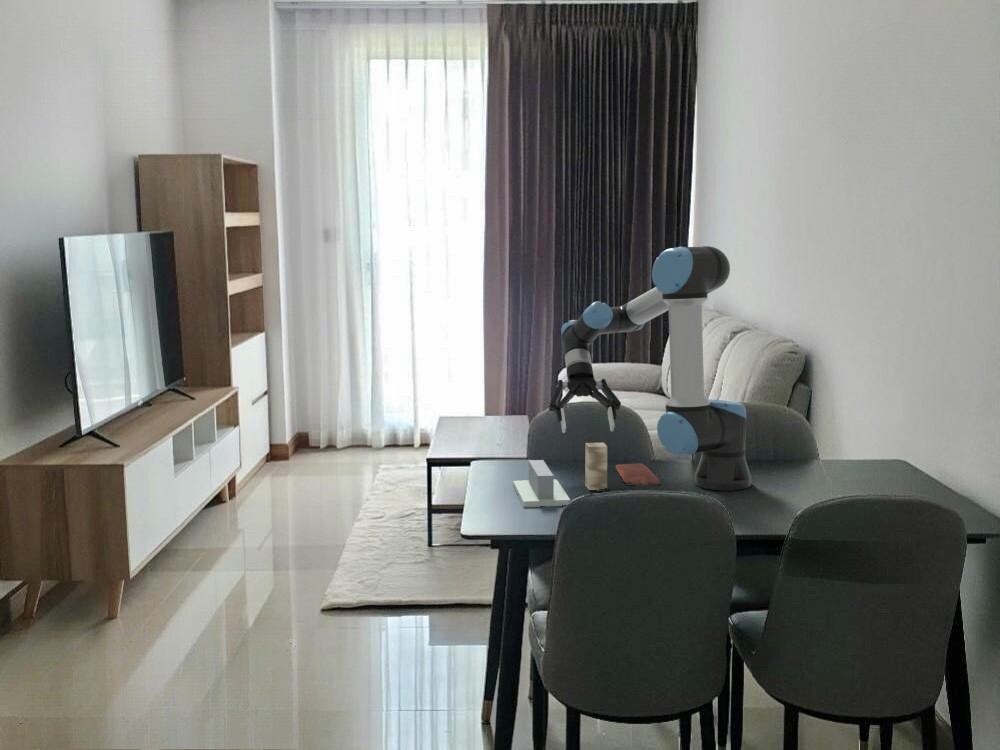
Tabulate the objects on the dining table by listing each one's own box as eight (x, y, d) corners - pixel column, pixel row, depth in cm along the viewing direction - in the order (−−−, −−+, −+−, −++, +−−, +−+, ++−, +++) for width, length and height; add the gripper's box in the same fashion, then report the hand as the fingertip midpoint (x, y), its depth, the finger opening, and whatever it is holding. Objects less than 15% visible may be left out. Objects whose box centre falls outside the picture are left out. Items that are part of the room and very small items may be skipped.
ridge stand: (513, 486, 299) (512, 459, 298) (556, 484, 301) (556, 457, 300) (523, 507, 278) (523, 478, 277) (570, 505, 279) (570, 476, 278)
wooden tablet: (661, 487, 299) (662, 481, 299) (625, 488, 299) (625, 482, 299) (646, 465, 326) (646, 459, 325) (612, 465, 325) (612, 460, 325)
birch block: (603, 485, 299) (603, 442, 298) (607, 490, 294) (607, 446, 293) (585, 486, 299) (585, 443, 297) (588, 490, 294) (588, 446, 292)
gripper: (619, 375, 321) (630, 435, 308) (535, 377, 318) (542, 438, 306) (623, 359, 315) (634, 420, 302) (537, 361, 312) (545, 423, 300)
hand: (588, 429), depth 304 cm, fingers open, 13 cm apart
